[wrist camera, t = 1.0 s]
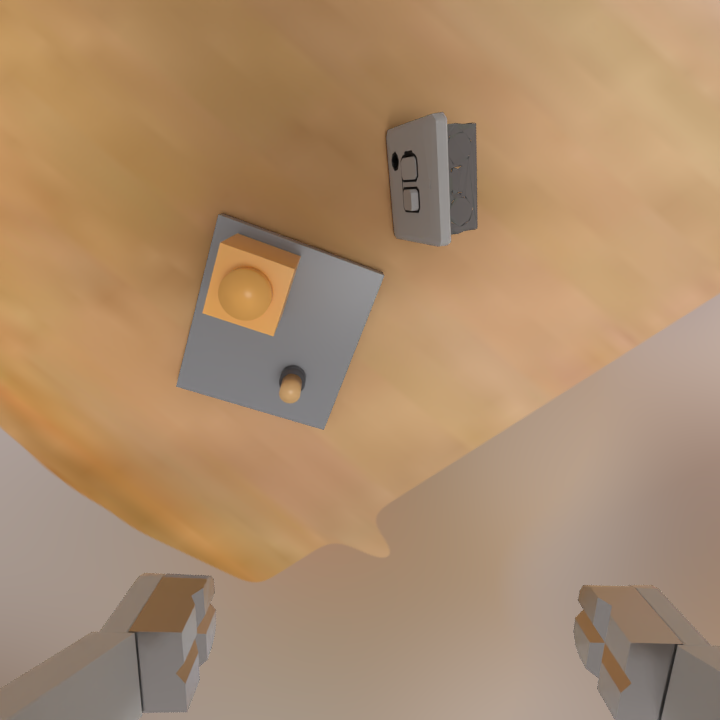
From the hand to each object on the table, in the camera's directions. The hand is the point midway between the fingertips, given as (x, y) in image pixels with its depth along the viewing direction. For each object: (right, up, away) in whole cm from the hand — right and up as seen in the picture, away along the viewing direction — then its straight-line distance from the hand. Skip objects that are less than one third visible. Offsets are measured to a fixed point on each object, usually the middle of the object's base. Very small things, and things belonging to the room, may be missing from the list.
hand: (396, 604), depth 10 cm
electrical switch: (+5, +22, +31) cm, 38 cm away
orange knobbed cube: (-10, +13, +32) cm, 36 cm away
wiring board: (-9, +9, +35) cm, 38 cm away
